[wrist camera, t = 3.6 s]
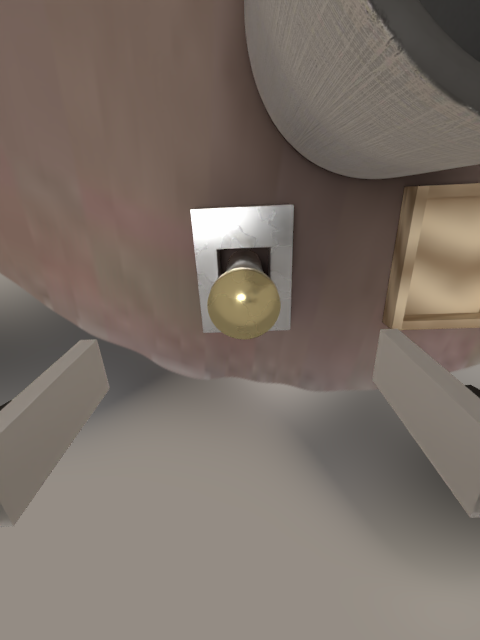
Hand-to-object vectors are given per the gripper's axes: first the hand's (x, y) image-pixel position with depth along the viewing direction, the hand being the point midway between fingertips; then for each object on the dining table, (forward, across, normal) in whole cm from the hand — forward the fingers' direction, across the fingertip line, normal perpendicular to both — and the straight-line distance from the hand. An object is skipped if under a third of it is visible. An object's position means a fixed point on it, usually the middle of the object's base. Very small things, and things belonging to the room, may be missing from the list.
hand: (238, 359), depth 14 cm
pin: (+19, 0, 0) cm, 19 cm away
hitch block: (+19, 0, 0) cm, 19 cm away
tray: (+18, +21, 0) cm, 28 cm away
